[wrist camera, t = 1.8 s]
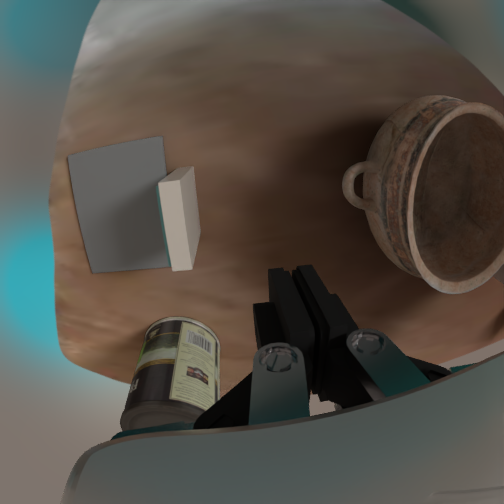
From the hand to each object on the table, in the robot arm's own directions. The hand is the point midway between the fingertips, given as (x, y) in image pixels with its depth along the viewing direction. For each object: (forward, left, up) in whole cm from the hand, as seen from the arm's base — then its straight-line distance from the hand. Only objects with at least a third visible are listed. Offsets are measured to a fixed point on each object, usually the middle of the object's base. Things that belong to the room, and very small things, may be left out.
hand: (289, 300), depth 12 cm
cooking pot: (-19, -1, -20) cm, 28 cm away
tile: (+6, 0, -20) cm, 21 cm away
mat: (+14, 0, -20) cm, 24 cm away
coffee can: (+10, +19, -20) cm, 30 cm away
